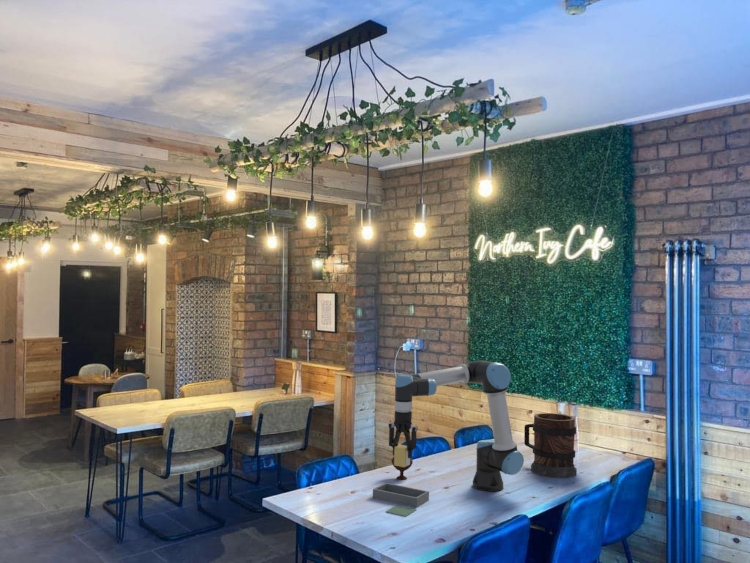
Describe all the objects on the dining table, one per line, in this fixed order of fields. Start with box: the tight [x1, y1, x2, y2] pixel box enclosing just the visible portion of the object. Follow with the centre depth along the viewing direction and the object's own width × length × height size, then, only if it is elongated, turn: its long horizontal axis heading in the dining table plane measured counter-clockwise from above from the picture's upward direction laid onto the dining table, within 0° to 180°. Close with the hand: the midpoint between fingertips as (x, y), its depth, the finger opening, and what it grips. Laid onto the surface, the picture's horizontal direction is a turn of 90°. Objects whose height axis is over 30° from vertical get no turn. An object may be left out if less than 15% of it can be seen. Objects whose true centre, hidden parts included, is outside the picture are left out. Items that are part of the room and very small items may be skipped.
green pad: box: [385, 504, 418, 518], centre depth 269 cm, size 10×10×1 cm
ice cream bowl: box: [391, 456, 414, 481], centre depth 319 cm, size 11×11×15 cm
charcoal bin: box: [372, 482, 430, 509], centre depth 285 cm, size 23×12×4 cm, turn 59°
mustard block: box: [393, 444, 408, 467], centre depth 270 cm, size 5×5×8 cm
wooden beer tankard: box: [523, 412, 578, 479], centre depth 341 cm, size 24×30×30 cm
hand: (402, 464), depth 270 cm, fingers closed on mustard block, 5 cm apart
